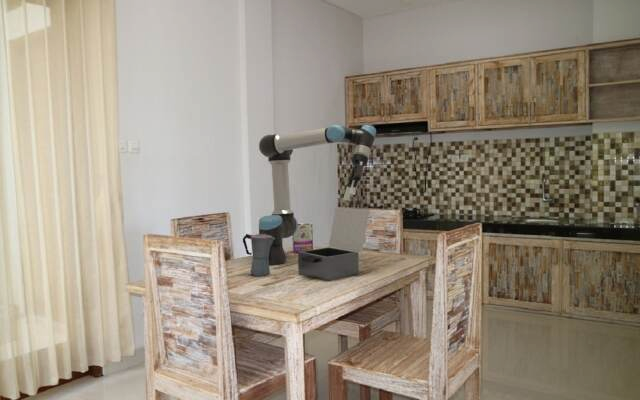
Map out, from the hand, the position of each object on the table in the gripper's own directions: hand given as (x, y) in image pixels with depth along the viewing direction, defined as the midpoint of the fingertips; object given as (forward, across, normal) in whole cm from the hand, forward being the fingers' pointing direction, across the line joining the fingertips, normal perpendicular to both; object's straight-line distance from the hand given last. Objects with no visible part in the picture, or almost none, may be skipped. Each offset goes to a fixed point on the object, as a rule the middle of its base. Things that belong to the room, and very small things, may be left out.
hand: (348, 197), depth 231 cm
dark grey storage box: (+38, -5, 0) cm, 39 cm away
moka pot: (+47, +3, +28) cm, 55 cm away
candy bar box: (+24, +55, +8) cm, 61 cm away
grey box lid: (+15, -3, -3) cm, 16 cm away
